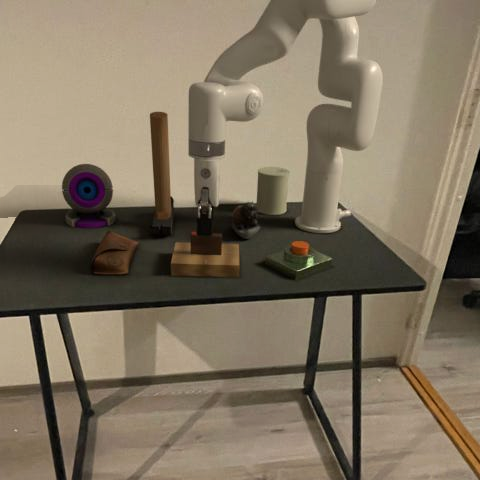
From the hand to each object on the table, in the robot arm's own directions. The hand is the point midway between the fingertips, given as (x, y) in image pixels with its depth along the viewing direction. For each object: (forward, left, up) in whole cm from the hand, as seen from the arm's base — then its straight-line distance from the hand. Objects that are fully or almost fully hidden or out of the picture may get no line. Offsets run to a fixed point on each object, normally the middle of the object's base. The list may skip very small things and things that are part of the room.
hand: (205, 227), depth 119 cm
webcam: (+18, -38, -10) cm, 43 cm away
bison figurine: (-17, -14, -10) cm, 24 cm away
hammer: (+1, -27, -10) cm, 29 cm away
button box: (-20, +8, -9) cm, 24 cm away
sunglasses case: (+18, -11, -10) cm, 23 cm away
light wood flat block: (0, 0, -9) cm, 9 cm away
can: (-33, -29, -10) cm, 45 cm away
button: (-20, +8, -6) cm, 22 cm away
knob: (0, 0, -6) cm, 6 cm away
